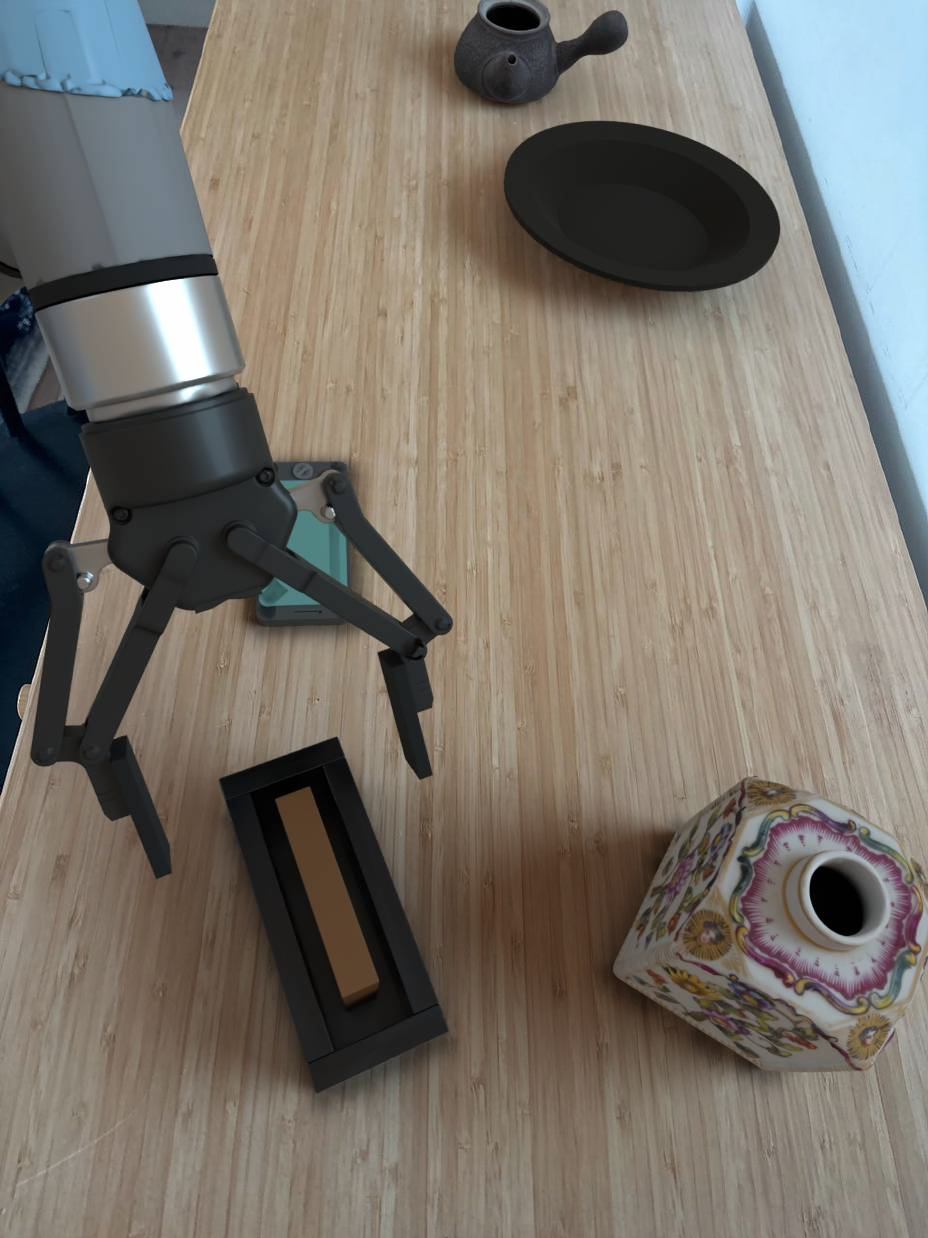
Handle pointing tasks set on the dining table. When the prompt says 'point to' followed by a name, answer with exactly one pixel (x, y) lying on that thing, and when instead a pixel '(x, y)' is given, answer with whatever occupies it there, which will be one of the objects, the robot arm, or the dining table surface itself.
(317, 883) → the thin brown wooden plank
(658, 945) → the decorative jar
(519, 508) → the dining table surface
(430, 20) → the dining table surface
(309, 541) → the smartphone
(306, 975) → the black open box
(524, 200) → the plate
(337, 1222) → the dining table surface
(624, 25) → the teapot
